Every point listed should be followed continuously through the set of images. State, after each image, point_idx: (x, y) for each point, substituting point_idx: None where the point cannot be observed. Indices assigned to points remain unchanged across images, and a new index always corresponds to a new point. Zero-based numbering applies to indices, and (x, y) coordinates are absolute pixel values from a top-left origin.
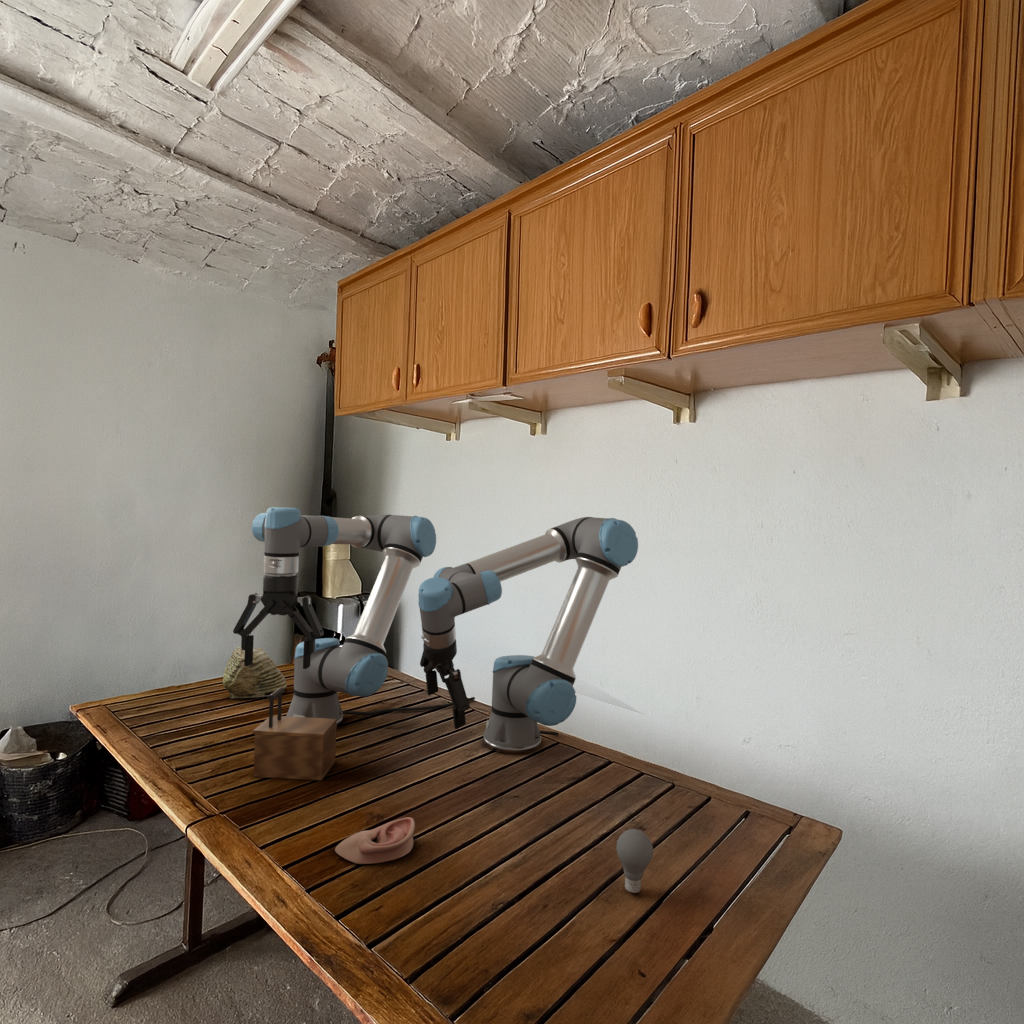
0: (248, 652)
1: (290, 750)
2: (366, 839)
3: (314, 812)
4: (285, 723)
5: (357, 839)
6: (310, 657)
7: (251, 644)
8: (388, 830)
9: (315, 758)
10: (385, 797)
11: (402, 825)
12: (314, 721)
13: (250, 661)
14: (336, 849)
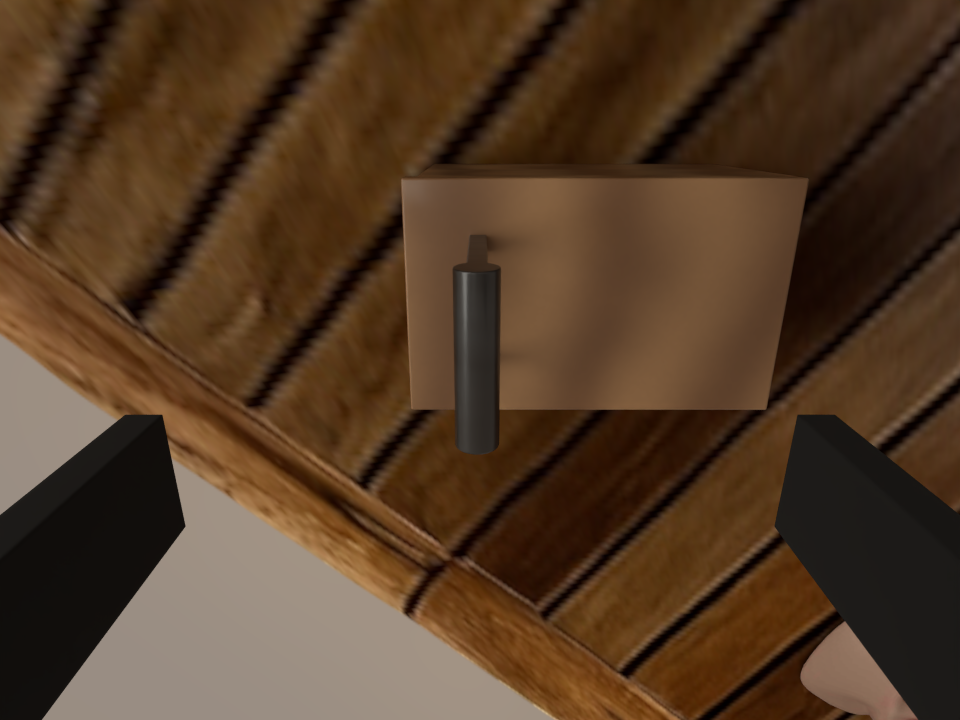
0: (101, 625)
1: None
2: (896, 716)
3: (713, 527)
4: (534, 297)
5: (869, 701)
6: (898, 469)
7: (13, 629)
8: None
9: None
10: (924, 423)
11: None
12: (685, 241)
13: (157, 484)
14: (806, 685)
